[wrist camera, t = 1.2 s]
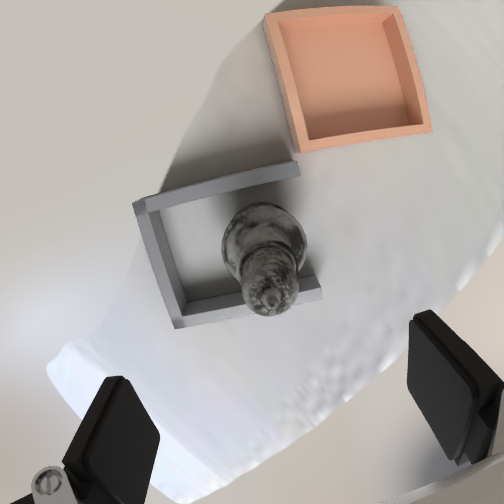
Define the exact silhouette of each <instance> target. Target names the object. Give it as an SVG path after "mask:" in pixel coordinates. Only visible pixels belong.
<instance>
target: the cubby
mask: <svg viewBox="0 0 504 504" xmlns="http://www.w3.org/2000/svg"><path fill="white" fill-rule="evenodd" d="M296 176H300V172H299V167H298V162H297V161H294V160H291V161H286V162H282V163H277V164H272V165H268V166H263V167H259V168H254V169H250V170H246V171H242V172H237V173H233V174H229V175H225V176H221V177H217V178H213V179H209V180H205V181H201V182H198V183H194V184H190V185H186V186H183V187H179V188H175V189H172V190H168V191H165V192H161V193H158V194H154V195H151V196H147V197H144V198H141V199H139V200H138V201H135V202H133V203H132V205H133V208H134V212H135V215H136V218H137V222H138V225H139V228H140V232H141V235H142V238H143V241H144V244H145V247H146V250H147V253H148V257H149V260H150V263H151V266H152V268H153V271H154V274H155V277H156V280H157V283H158V286H159V289H160V291H161V294H162V297H163V300H164V302H165V305H166V308H167V310H168V313H169V316H170V318H171V321H172V324H173V326H174V329H179V328H184V327H190V326H196V325H201V324H207V323H212V322H217V321H223V320H228V319H233V318H238V317H243V316H248V315H253V314H256V313H255V312H253V311H252V310H251V309H250V308H249V307H248V306H247V305H246V303H245V301H244V299H243V296H242V291H241V292H236V293H232V294H227V295H222V296H217V297H212V298H207V299H202V300H197V301H192V302H187V299H186V296H185V294H184V291H183V288H182V285H181V282H180V279H179V275H178V272H177V269H176V266H175V263H174V260H173V257H172V254H171V250H170V247H169V244H168V241H167V237H166V234H165V231H164V228H163V224H162V221H161V217H160V214H159V210H160V209H163V208H167V207H171V206H175V205H178V204H182V203H186V202H190V201H193V200H197V199H201V198H205V197H209V196H213V195H217V194H221V193H225V192H229V191H234V190H238V189H242V188H246V187H251V186H255V185H259V184H264V183H268V182H273V181H277V180H282V179H286V178H291V177H296ZM298 283H299V291H298V296H297V299H296V301H295V303H294V304H293V305H292V306H294V305H299V304H303V303H307V302H312V301H316V300H320V299H323V296H322V289H321V286H320V284H319V282H318V280H317V278H316V276H315V275H313V276H309V277H305V278H300V279H298Z"/></svg>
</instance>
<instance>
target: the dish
mask: <svg viewBox="0 0 504 504" xmlns="http://www.w3.org/2000/svg"><path fill="white" fill-rule="evenodd" d="M263 30H264V33H265V37H266V40H267V44H268V47H269V51H270V55H271V58H272V62H273V66H274V69H275V73H276V77H277V81H278V85H279V88H280V92H281V96H282V100H283V104H284V108H285V112H286V117H287V121H288V125H289V129H290V133H291V138H292V142H293V146H294V151H295V152H296V153H302V152H308V151H313V150H318V149H324V148H329V147H335V146H340V145H346V144H352V143H359V142H365V141H371V140H378V139H385V138H392V137H400V136H408V135H416V134H425V133H433V131H432V126H431V120H430V115H429V110H428V106H427V101H426V97H425V92H424V88H423V84H422V80H421V76H420V72H419V69H418V65H417V61H416V58H415V54H414V51H413V48H412V45H411V41H410V38H409V35H408V32H407V29H406V26H405V23H404V20H403V18H402V15H401V12H400V10H399V7H398V6H334V7H319V8H307V9H298V10H289V11H282V12H275V13H268V14H265V16H264V25H263Z"/></svg>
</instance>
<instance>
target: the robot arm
mask: <svg viewBox="0 0 504 504" xmlns="http://www.w3.org/2000/svg"><path fill="white" fill-rule="evenodd" d="M408 352H409V353H408V373H407V386H408V390H409V392H410V393H411V395H412V397H413V398H414V400H415V402H416V403H417V405H418V407H419V409H420V410H421V412H422V414H423V415H424V417H425V419H426V420H427V422H428V423H429V425H430V427H431V429H432V431H433V433H434V434H435V436H436V438H437V439H438V441H439V443H440V445H441V447H442V448H443V450H444V452H445V454H446V456H447V457H448V459H449V460H453V459H454V460H455V462H456V464H457V466H459V465H461V464H463V463H465V462H467V461H470V462H471V464H472V465H471V466H469V467H467V468H465V469H463V470H461V471H458V472H456V473H454V474H452V475H450V476H448V477H445V478H443V479H441V480H439V481H436V482H434V483H431V484H429V485H426V486H424V487H421V488H419V489H416V490H413V491H411V492H408V493H406V494H403V495H400V496H397V497H395V498H391V499H389V500H385V501H382V502H379V503H376V504H504V382H503V381H502V380H501V379H500V378H499V377H498V375H497V374H496V373H495V372H494V371H493V370H492V369H491V368H490V367H489V366H488V365H487V364H486V363H485V362H484V361H483V360H482V359H481V358H480V357H479V356H478V354H477V353H476V352H475V351H474V350H473V349H472V348H471V347H470V346H469V345H468V344H467V343H466V342H465V341H463V340H462V339H461V338H460V337H459V336H458V335H457V334H456V333H455V332H454V331H453V330H452V329H451V328H450V327H449V326H447V324H446V323H444V322H443V321H442V320H441V319H440V318H439V317H438V316H437V315H436V314H435V313H434V312H433V311H432V310H426V311H423V312H420V313H417V314H415V315H414V317H413V320H411V321H410V322H409V351H408ZM159 442H160V434H159V431H158V429H157V428H156V426H155V425H154V423H153V421H152V420H151V418H150V416H149V415H148V413H147V411H146V409H145V408H144V406H143V404H142V403H141V401H140V399H139V397H138V395H137V394H136V392H135V390H134V388H133V386H132V384H131V383H130V381H129V380H128V379H125V378H124V377H123V376H111V377H106V378H105V379H104V381H103V383H102V385H101V387H100V389H99V390H98V392H97V394H96V396H95V398H94V400H93V401H92V403H91V405H90V407H89V409H88V411H87V413H86V415H85V417H84V418H83V420H82V422H81V424H80V426H79V428H78V430H77V432H76V434H75V436H74V438H73V440H72V442H71V444H70V446H69V448H68V450H67V452H66V454H65V456H64V458H63V460H62V462H63V464H64V465H65V467H64V469H62V468H60V467H57V466H49V467H46V468H43V469H42V470H40V471H39V472H38V473H37V474H36V475H35V476H34V478H33V480H32V484H31V488H32V493H31V494H29V495H27V496H25V497H23V498H21V499H19V500H17V501H15V502H13V503H11V504H144V502H145V498H146V494H147V490H148V485H149V482H150V478H151V473H152V469H153V465H154V461H155V458H156V454H157V450H158V446H159Z"/></svg>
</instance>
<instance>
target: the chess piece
mask: <svg viewBox="0 0 504 504" xmlns="http://www.w3.org/2000/svg"><path fill="white" fill-rule="evenodd" d="M306 254H307V240H306V235H305V233H304V231H303V229H302V226H301V225H300V224H299V223H298V221H297V220H296V219H295V218H294V217H293V216H292V215H290V214H289V213H287V212H286V211H285V210H284V209H282V208H281V207H279V206H277V205H274V204H271V203H263V202H260V203H255V204H251V205H249V206H247V207H245V208H243V209H242V210H241V211H240V212H239V213H237V215H236V216H235V218H234V219H233V220H232V221H231V223H230V224H229V226H228V227H227V229H226V230H225V233H224V236H223V239H222V256H223V260H224V263H225V265H226V267H227V269H228V271H229V272H230V273H231V274H232V275H233V276H234V277H235V278H236V279H237V280H238V281H239V283H240V285H241V286H242V296H243V299H244V301H245V303H246V305H247V306H248V307H249V308H250V309H251V310H252V311H253V312H255V313H256V314H259V315H262V316H276V315H280V314H282V313H284V312H286V311H287V310H288V309H290V308H291V307H292V305H293V304H294V303H295V301H296V299H297V296H298V291H299V283H298V279H297V276H298V272H299V270H300V269H301V268H302V266H303V264H304V261H305V259H306Z"/></svg>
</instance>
